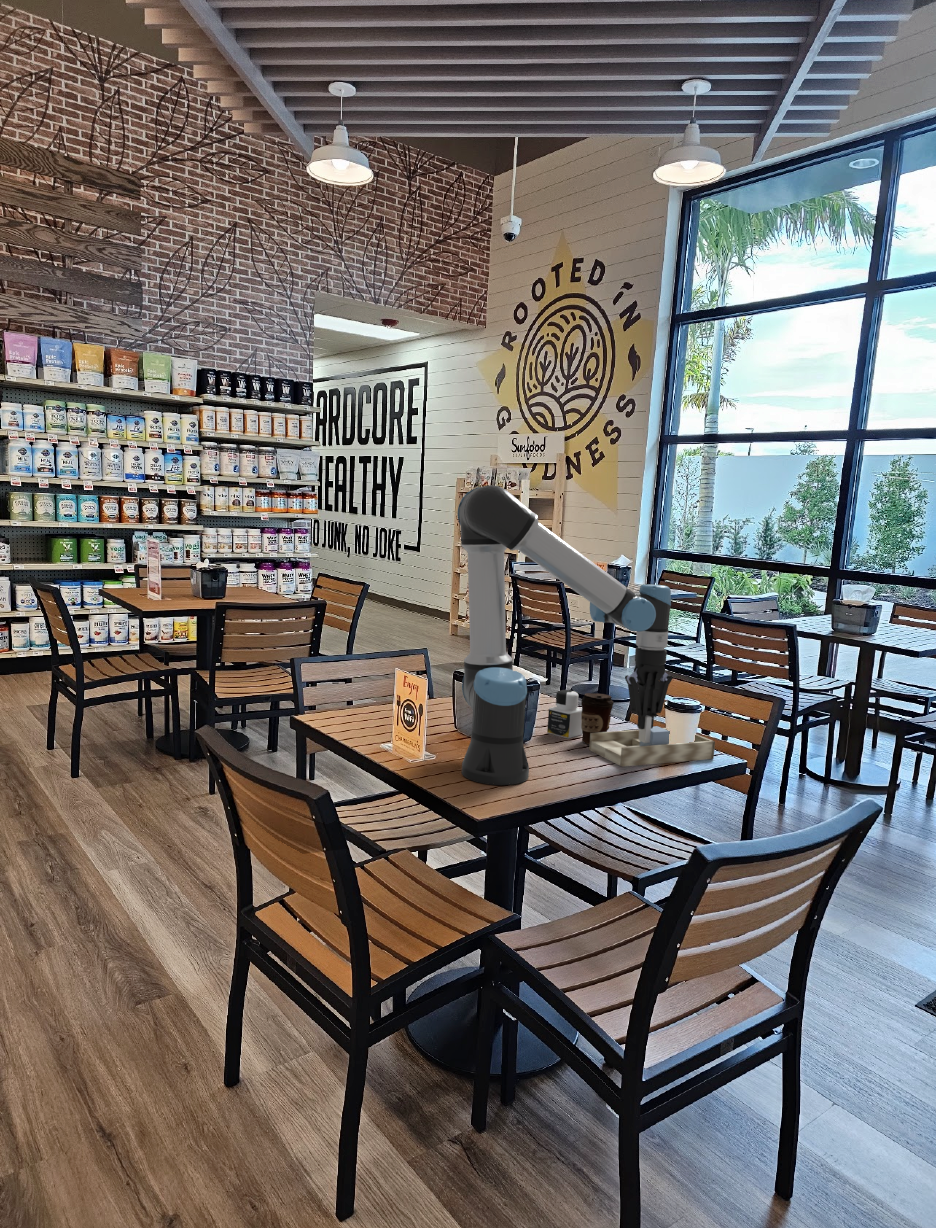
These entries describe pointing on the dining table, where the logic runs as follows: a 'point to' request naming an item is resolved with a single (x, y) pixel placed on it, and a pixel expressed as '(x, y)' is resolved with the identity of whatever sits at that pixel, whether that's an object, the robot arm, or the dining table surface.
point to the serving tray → (647, 749)
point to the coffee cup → (595, 714)
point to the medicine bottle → (565, 715)
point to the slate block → (657, 737)
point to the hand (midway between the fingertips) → (644, 741)
